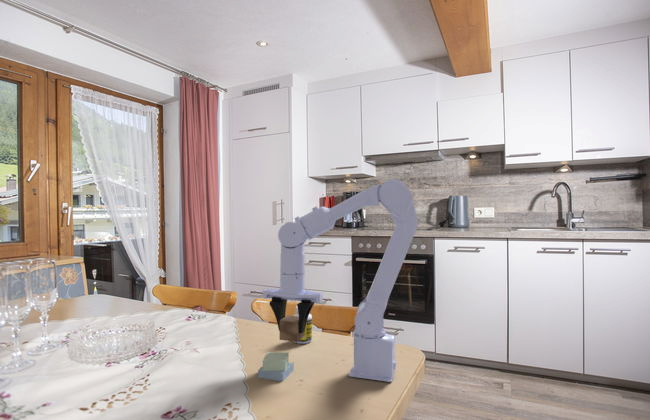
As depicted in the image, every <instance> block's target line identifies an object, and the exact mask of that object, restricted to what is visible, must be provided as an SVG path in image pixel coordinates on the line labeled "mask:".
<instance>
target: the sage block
mask: <svg viewBox="0 0 650 420" xmlns="http://www.w3.org/2000/svg"><path fill="white" fill-rule="evenodd" d="M289 354H290V353H289V352H278V351H277V352H274V351H273V352H272V351H271V352H270V351H267V352H266V354H265V356H264V357H263V359H262V366H263V371H285V370H286V368H287V365H288V362H289V359H290V357H289ZM289 363H290V362H289Z"/></svg>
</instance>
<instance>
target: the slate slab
mask: <svg viewBox="0 0 650 420" xmlns="http://www.w3.org/2000/svg"><path fill="white" fill-rule="evenodd" d="M294 364H295V363H294V362H288V365H287V368H286V370H285V371H263V365H262V366H261V367H260V368H258V370H257V378H258V379H265V380H272V381H278V382H284V381H285V380H286V379H287V378H288V377H289V376H290V375H291V374H292V373H293V372H294V367H295V366H294Z"/></svg>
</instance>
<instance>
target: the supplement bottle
mask: <svg viewBox="0 0 650 420" xmlns="http://www.w3.org/2000/svg"><path fill="white" fill-rule="evenodd" d="M293 316H298V317H299V314H298V307H297V305H296V306H295V313H294V314H293ZM312 335H313V316H312V314H311V313H309V316H308V319H307V322H306V327H305V336H304V337H303V338H302V339H300V340H299V341H298V342H294V343H295V344H299V345H305V344H309V343H311V341H312V340H313V336H312Z"/></svg>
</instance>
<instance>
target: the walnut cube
mask: <svg viewBox="0 0 650 420" xmlns="http://www.w3.org/2000/svg"><path fill="white" fill-rule="evenodd" d="M304 336H305V331H304V332H303V333H299V317H298V316H294V315H285V317H284V318H283V319H281V320H280V331H279V341H284V342H285V341H286V342H293V343H295V342H298V341H299V340H300V339H302V338H303V337H304Z"/></svg>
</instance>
